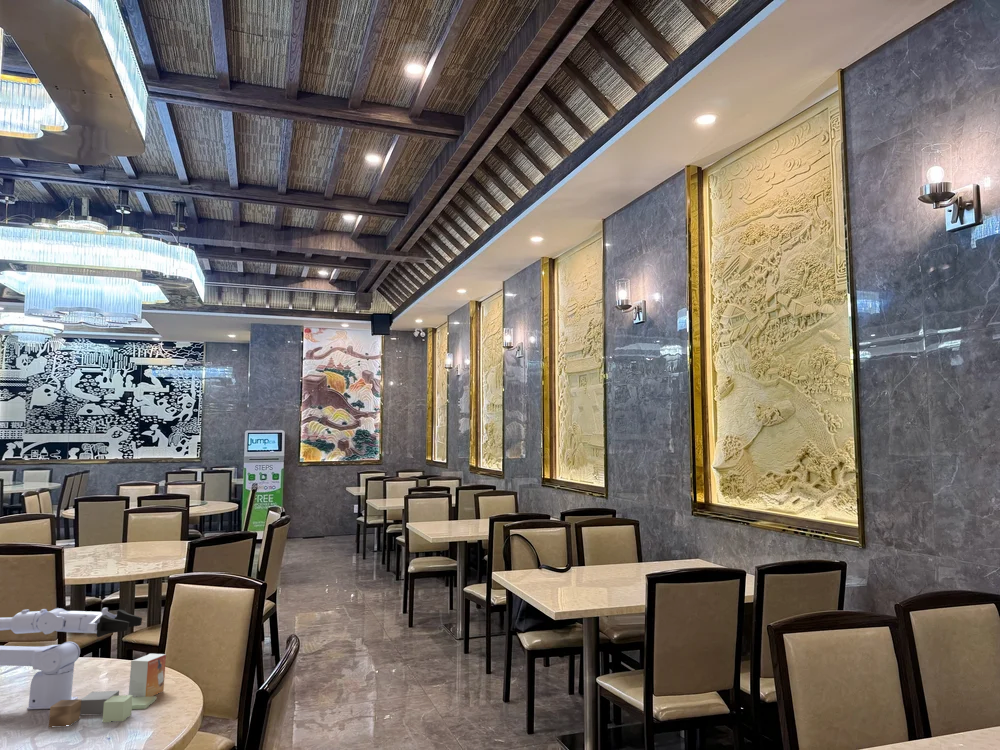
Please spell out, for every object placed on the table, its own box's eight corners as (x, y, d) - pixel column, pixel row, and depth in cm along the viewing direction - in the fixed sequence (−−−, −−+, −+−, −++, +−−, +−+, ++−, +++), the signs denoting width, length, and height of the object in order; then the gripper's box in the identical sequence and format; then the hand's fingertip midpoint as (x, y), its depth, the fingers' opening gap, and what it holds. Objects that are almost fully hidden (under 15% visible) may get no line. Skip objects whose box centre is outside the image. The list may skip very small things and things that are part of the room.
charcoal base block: (78, 716, 175) (79, 700, 176) (91, 707, 182) (92, 691, 183) (105, 715, 176) (107, 699, 177) (118, 705, 183) (119, 690, 183)
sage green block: (102, 722, 170) (103, 702, 171) (111, 715, 175) (113, 695, 176) (122, 721, 171) (124, 701, 171) (131, 714, 176) (132, 695, 176)
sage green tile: (118, 709, 179) (118, 705, 179) (130, 700, 186) (130, 697, 186) (145, 708, 180) (145, 704, 180) (156, 700, 187) (156, 696, 187)
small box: (144, 700, 186) (147, 661, 188) (127, 699, 187) (130, 660, 189) (164, 691, 194) (166, 653, 196) (147, 690, 195) (150, 652, 197)
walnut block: (48, 727, 167) (50, 706, 168) (59, 720, 172) (61, 700, 173) (69, 726, 167) (71, 706, 168) (79, 719, 172) (81, 699, 173)
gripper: (73, 611, 181) (124, 613, 181) (101, 603, 195) (148, 605, 196) (69, 638, 179) (120, 640, 180) (97, 628, 193) (145, 630, 194)
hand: (134, 623), depth 188 cm, fingers open, 7 cm apart
